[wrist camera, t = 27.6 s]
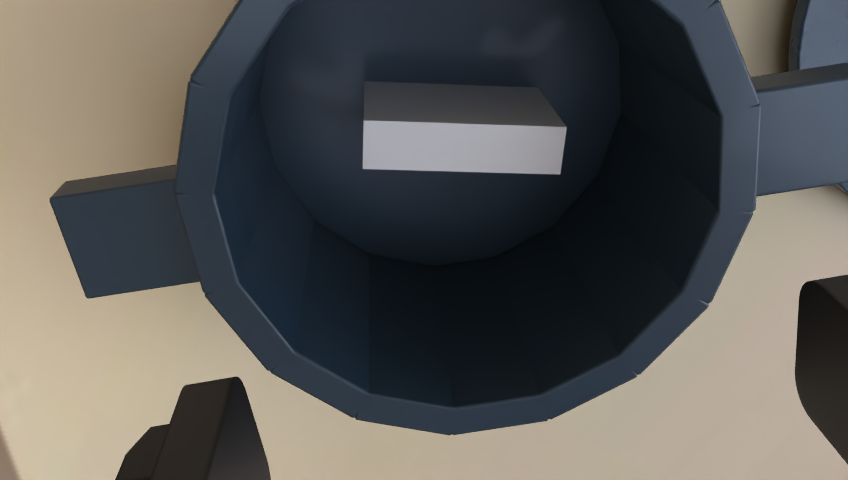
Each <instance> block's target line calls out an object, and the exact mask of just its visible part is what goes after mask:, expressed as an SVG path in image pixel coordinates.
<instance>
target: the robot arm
mask: <svg viewBox="0 0 848 480" xmlns="http://www.w3.org/2000/svg"><path fill="white" fill-rule="evenodd" d="M795 380H796V386H797V391H798V394H799V397H800V400H801V403H802V405H803V407H804V409H805V411H806V413H807V414H808V416H809V417H810V419H811V420H812V421H813V422H814V424H815V425H816V426H817V427H818V428H819V430H820V431H821V432H822V433H823V435H824V436H825V437H826V438H827V439H828V441H829V442H830V443H831V444H832V446H833V447H834V448H835V449H836V450H837V452H838V453H839V454H840V455H841V457H842V458H843V459H844V460H845V462H846V463H847V464H848V275H843V276H837V277H831V278H825V279H819V280H813V281H808V282H806V283H805V284H804V285H803V286H802V289H801V291H800V296H799V311H798V328H797V346H796V363H795ZM115 480H271V479H270V472H269V466H268V462H267V458H266V455H265V452H264V448H263V445H262V442H261V439H260V435H259V432H258V429H257V426H256V422H255V419H254V416H253V413H252V409H251V406H250V403H249V400H248V396H247V393H246V390H245V387H244V385H243V383H242V381H241V379H240V378H239V377H231V378H225V379H219V380H213V381H208V382H202V383H196V384H190V385H185V386H184V387H183V388H182V391H181V393H180V396H179V399H178V401H177V404H176V407H175V410H174V413H173V415H172V418H171V421H170V424H166V425H160V426H155V427H150V429H149V430H148V431H147V432H146V433H145V434H144V435H143V436H142V437H141V438H140V439H139V441H138V442H137V443H136V444H135V445H134V446H133V447H132V448H131V449H130V450H129V452H128V453H127V454H126V455H125V457H124V460H123V462H122V465H121V467H120V470H119V472H118V474H117V477H116V479H115Z"/></svg>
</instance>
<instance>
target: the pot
mask: <svg viewBox="0 0 848 480" xmlns="http://www.w3.org/2000/svg"><path fill="white" fill-rule="evenodd" d="M364 81H374V82H401V83H428V84H455V85H483V86H510V87H537V88H538V89H539V90H540V92H541V93H542V94H543V96H544V97H545V98H546V100H547V101H548V102H549V104H550V105H551V106H552V108H553V109H554V110H555V112H556V113H557V115H558V116H559V117H560V119H561V120H562V121H563V123H564V124H565V125H566V127H567V129H566V137H565V144H564V151H563V159H562V166H561V173H560V174H524V173H488V172H452V171H416V170H380V169H363V121H364ZM841 183H848V62H847V63H841V64H834V65H828V66H821V67H815V68H808V69H802V70H795V71H788V72H782V73H775V74H769V75H762V76H756V77H750V75H749V72H748V70H747V67H746V65H745V62H744V60H743V57H742V55H741V52H740V50H739V47H738V45H737V42H736V40H735V37H734V35H733V32H732V30H731V27H730V25H729V22H728V20H727V17H726V15H725V12H724V10H723V7H722V5H721V2H720V1H719V0H238V2H237V4H236V5H235V7H234V8H233V10H232V11H231V13H230V15H229V16H228V18H227V19H226V21H225V22H224V24H223V26H222V27H221V29H220V30H219V32H218V33H217V35H216V37H215V38H214V40H213V41H212V43H211V44H210V46H209V47H208V49H207V51H206V52H205V54H204V55H203V57H202V58H201V60H200V62H199V63H198V65H197V66H196V68H195V69H194V71H193V73H192V74H191V77H190V81H189V82H188V86H187V93H186V100H185V108H184V115H183V122H182V130H181V137H180V144H179V152H178V159H177V165H171V166H164V167H158V168H151V169H145V170H138V171H131V172H125V173H118V174H112V175H105V176H99V177H92V178H86V179H79V180H72V181H66V182H65V183H64V184H63V185H62V186H61V187H60V188H59V189H58V190H57V191H56V192H55V193H54V194H53V195H52V197H51V198H50V203H51V206H52V208H53V211H54V214H55V216H56V219H57V222H58V224H59V227H60V229H61V232H62V235H63V237H64V240H65V243H66V245H67V248H68V251H69V253H70V256H71V259H72V261H73V264H74V266H75V269H76V272H77V274H78V277H79V280H80V282H81V285H82V288H83V290H84V293H85V296H86V297H87V298H95V297H101V296H108V295H114V294H121V293H128V292H134V291H141V290H147V289H154V288H160V287H167V286H174V285H180V284H187V283H193V282H200V284H201V287H202V290H203V292H204V293H205V297H206V298H207V299H208V300H209V302H210V303H211V304H212V305H213V306H214V308H215V309H216V310H217V311H218V312H219V313H220V315H221V316H222V317H223V318H224V319H225V321H226V322H227V323H228V324H229V325H230V327H231V328H232V329H233V330H234V331H235V333H236V334H237V335H238V336H239V337H240V338H241V340H242V341H243V342H244V343H245V344H246V346H247V347H248V348H249V349H250V350H251V352H252V353H253V354H254V355H255V356H256V358H257V359H258V360H259V361H260V362H261V364H262V365H263V366H264V367H265V368H266V369H267V370H268V371H269V370H270V372H271V373H272V374H274V375H276V376H278V377H279V378H281V379H283V380H285V381H287V382H289V383H290V384H292V385H294V386H296V387H298V388H299V389H301V390H303V391H305V392H307V393H309V394H310V395H312V396H314V397H316V398H318V399H319V400H321V401H323V402H325V403H327V404H329V405H330V406H332V407H334V408H336V409H338V410H340V411H341V412H343V413H345V414H347V415H349V416H350V417H353V418H354V417H355V419H356V420H361V421H367V422H373V423H379V424H385V425H391V426H397V427H403V428H409V429H415V430H421V431H427V432H433V433H439V434H445V435H451V434H453V435H457V434H463V433H470V432H477V431H483V430H490V429H496V428H503V427H510V426H516V425H523V424H529V423H536V422H543V421H547V420H548V418H549V419H553V418H555V417H557V416H559V415H561V414H563V413H565V412H567V411H569V410H571V409H573V408H575V407H577V406H579V405H581V404H583V403H585V402H587V401H589V400H591V399H593V398H595V397H597V396H599V395H601V394H603V393H605V392H607V391H609V390H611V389H613V388H615V387H617V386H619V385H622V384H624V383H626V382H628V381H630V380H632V379H634V378H636V377H637V374H638V375H639V374H641V373H642V372H643V371H644V370H645V369H646V368H647V367H648V366H649V365H650V364H651V363H652V362H653V361H654V360H655V359H656V358H657V357H658V356H659V355H660V354H661V353H662V352H663V351H664V350H665V349H666V348H667V347H668V346H669V345H670V344H671V343H672V342H673V341H674V340H675V339H676V338H677V337H678V336H679V335H680V334H681V333H682V332H683V331H684V330H685V329H686V328H687V327H688V326H689V325H690V324H691V323H692V322H693V321H694V320H695V319H696V318H697V317H698V316H699V315H700V314H702V313H703V312H704V311H705V310H706V309H707V308H708V306H709V303H710V302H711V301H712V300H713V298H714V296H715V293H716V291H717V289H718V287H719V285H720V283H721V281H722V279H723V277H724V274H725V272H726V270H727V268H728V266H729V264H730V262H731V260H732V258H733V255H734V253H735V251H736V249H737V247H738V245H739V243H740V241H741V238H742V236H743V234H744V232H745V230H746V228H747V226H748V224H749V222H750V219H751V217H752V215H753V211H754V210H755V208H756V196H762V195H769V194H776V193H782V192H789V191H795V190H802V189H808V188H815V187H822V186H828V185H835V184H841Z"/></svg>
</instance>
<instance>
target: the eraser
mask: <svg viewBox="0 0 848 480" xmlns="http://www.w3.org/2000/svg"><path fill="white" fill-rule="evenodd" d="M566 129H567V127H566V125H565V124H564V123H563V121H562V120H561V119H560V117H559V116H558V115H557V113H556V112H555V110H554V109H553V108H552V106H551V105H550V104H549V102H548V101H547V100H546V98H545V97H544V96H543V94H542V93H541V92H540V90H539V89H538V88H537V87H510V86H483V85H455V84H428V83H401V82H374V81H364V121H363V169H380V170H416V171H452V172H488V173H524V174H560V173H561V166H562V159H563V151H564V144H565V137H566Z"/></svg>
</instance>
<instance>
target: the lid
mask: <svg viewBox="0 0 848 480" xmlns="http://www.w3.org/2000/svg"><path fill="white" fill-rule="evenodd" d="M847 62H848V0H798V1H797V5H796V9H795V13H794V17H793V21H792V29H791V37H790V44H789V71H795V70H802V69H808V68H815V67H821V66H828V65H834V64H841V63H847ZM836 186H837V187H838V188H839V189H841V190H842V191H844V192H845V193H846V194H848V183H841V184H836Z"/></svg>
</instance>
